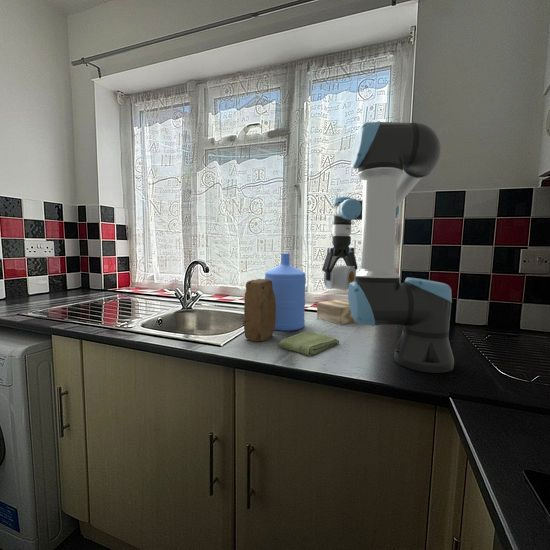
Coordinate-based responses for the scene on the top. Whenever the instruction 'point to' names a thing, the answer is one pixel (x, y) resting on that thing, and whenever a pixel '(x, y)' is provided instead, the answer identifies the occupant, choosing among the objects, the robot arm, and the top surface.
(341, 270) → the toilet paper
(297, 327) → the water jug
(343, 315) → the oak brick
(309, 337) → the washcloth
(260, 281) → the block
